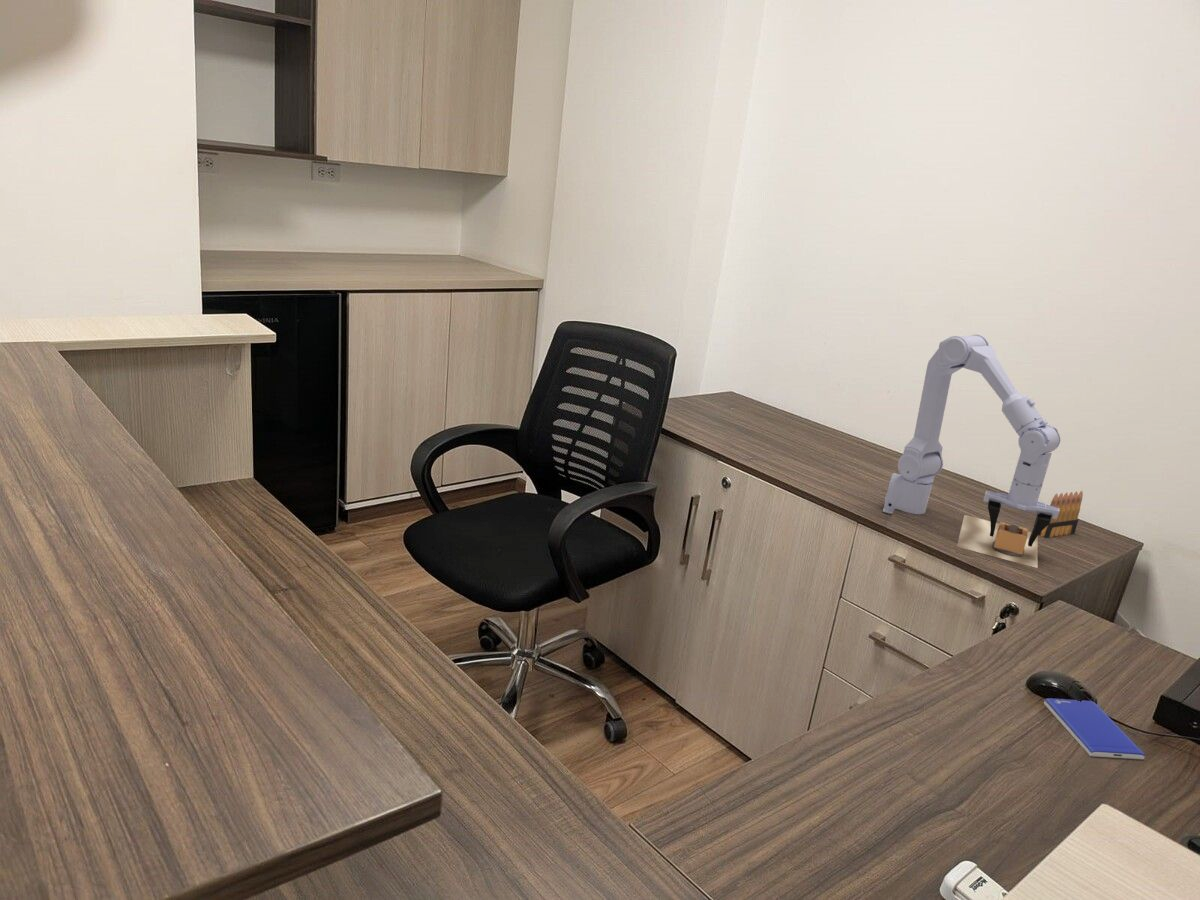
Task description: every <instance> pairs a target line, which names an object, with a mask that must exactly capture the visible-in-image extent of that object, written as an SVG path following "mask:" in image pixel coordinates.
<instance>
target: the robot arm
mask: <svg viewBox="0 0 1200 900" xmlns="http://www.w3.org/2000/svg"><path fill="white" fill-rule="evenodd" d="M962 368H964V369H967V370H970V371H973V372H976V373H979V374H981V376H982V377H983V378H984V379H985V381H986V382H987V384H988V385H989V386H990V387H991V388H992V390H993V391H994V393H995V394H996V395H997V396H998V398H999V399H1000V400H1001V402H1002V407H1001V412H1002V413H1003V415H1004V416H1005V418H1006V419H1007V421H1008V423H1009V424H1010V425H1011V426H1012V428H1013V429H1014V431H1015V433H1016V434H1017V435H1018V436H1019V437H1018V446H1019V449H1020V453H1019V457H1018V460H1017V464H1016V467H1015V470H1014V474H1013V478H1012V481H1011V485H1010V488H1009V492H1008V493H1002V492H995V491H990V490H986V491H985V493H984V497H983V500H982V501H983V502H985V503H987V509H988V515H989V520H990V522H991V531H990V536H992V537H993V535H994V531H995V526H996V523H998V517H999V515H1000V512H1001V506H1005V507H1010V508H1014V509H1018V510H1021V511H1022V510H1023V511H1026V512H1029V513H1033V514H1036V517H1035V521H1034V525H1033V528H1032V531H1031V532H1032V533H1031V535H1030V538H1029V541H1028V546H1030V547H1032V544H1033V542H1034V541H1035V539H1036V538H1037V536H1040V535H1039V534H1040V532H1041V531H1042V530H1043V529H1044V528H1045V527H1046V526H1048V524H1049V523H1050V522H1051V518H1053V519H1057V517H1058V514H1059V508H1056V507H1053V506H1050V504H1046V503H1043V502H1040V501H1039V497H1040V494H1041V491H1042V488H1043V483H1044V481H1045V477H1046V474H1047V471H1048V468H1049V464H1050V460H1051V458H1052V457H1051V456H1052V452H1053V451H1054V452H1055V450H1056V449H1058V447H1059V446H1060V444H1061V436H1060V433H1059V431H1058V428H1057V427H1055V426H1054V425H1050V424H1048V423H1049V422H1048V421H1047V420H1046V419H1045V418H1043V417H1042V415H1041V414H1040V412H1039V411H1038V410H1037V408H1036V407H1035V405H1036V402H1035V401H1034V399H1033V398H1029V396H1028V395H1024V394H1020V393H1018V391H1017V390H1016V387H1015V386H1014V385H1013V383H1012V381H1011V380H1010V377H1009V376H1008V374H1007V373H1006V371H1005V369H1004V368H1003V366H1002V364H1001V362H1000V361H999V359H998V357H997V355H996V350H995V349H994V347H993V346H992V345H990V342H989V341H988V339H987V338H986V337H985V336H983V335H981V334H971V335H952V336H949V337H948V338H946V339H944V340H942V341H940V342H939V345H938V348H937V349H936V351H935V352H934V354H933V355H932V356H931V358H929V360H928V362H927V367H926V370H925V377H924V381H923V387H922V392H921V397H920V402H919V403H920V404H919V408H918V412H917V419H916V425H915V429H914V434H913V437H912V439H911V440H910V441H909V442H908V443H906V445H905V446H904V450H903V453H902V455H901V456H900V457H899V459H898V461H897V470H898V472H899V473H896V472H892V474H891V477H890V480H889V484H888V488H887V492H886V494H885V497H884V504H883V508H882V512H883V513H886V514H890V515H893V514H894V512H895V510H899V511H901V512H904V513H908V514H912V515H913V514H914V515H923V514H925V513H926V511H927V507H928V505H929V504H928V503H929V499H930V495H931V493H932V492H931V491H932V488H933V484H934V480H935V477H936V475H938V474H939V473H940V472H941V471H942V469H943V468H944V467H943V466H944V459H943V454H942V453H943V446H942V444H941V442H940V435H941V431H942V430H941V429H942V425H943V420H944V415H945V409H946V405H947V399H948V395H949V390H950V384H951V380H952V376H953V374H954V373H957V372H958V371H959V370H961V369H962Z"/></svg>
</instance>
